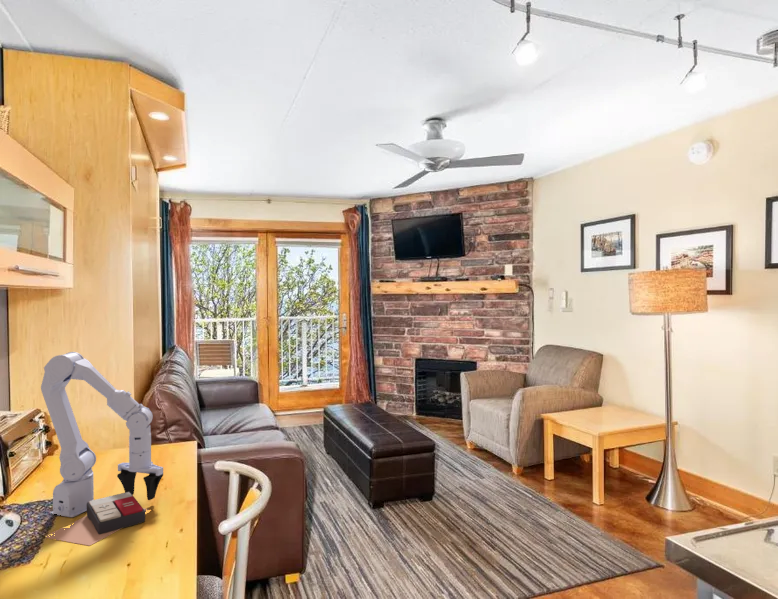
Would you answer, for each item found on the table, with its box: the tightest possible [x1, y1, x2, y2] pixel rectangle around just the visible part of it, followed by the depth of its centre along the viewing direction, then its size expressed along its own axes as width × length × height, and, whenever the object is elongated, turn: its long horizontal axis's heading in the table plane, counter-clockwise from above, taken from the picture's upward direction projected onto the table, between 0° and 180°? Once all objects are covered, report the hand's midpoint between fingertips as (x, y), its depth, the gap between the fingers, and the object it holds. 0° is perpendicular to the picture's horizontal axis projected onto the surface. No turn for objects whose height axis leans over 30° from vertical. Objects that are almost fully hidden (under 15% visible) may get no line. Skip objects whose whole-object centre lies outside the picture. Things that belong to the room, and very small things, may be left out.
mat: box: [45, 507, 150, 547], centre depth 133 cm, size 21×15×1 cm
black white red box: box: [86, 492, 146, 534], centre depth 135 cm, size 11×4×15 cm
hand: (140, 497), depth 145 cm, fingers open, 7 cm apart
